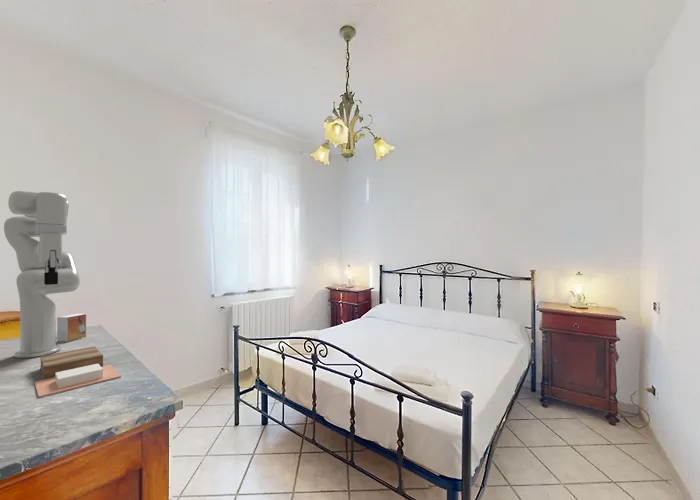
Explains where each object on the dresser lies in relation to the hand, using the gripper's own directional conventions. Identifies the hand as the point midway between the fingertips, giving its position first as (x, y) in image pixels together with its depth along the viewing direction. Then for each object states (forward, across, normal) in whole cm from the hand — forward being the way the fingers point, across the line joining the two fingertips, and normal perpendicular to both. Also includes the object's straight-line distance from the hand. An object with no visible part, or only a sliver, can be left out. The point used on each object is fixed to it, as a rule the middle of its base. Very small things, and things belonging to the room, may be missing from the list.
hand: (51, 284), depth 105 cm
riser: (+27, +9, +4) cm, 29 cm away
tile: (+25, +24, +4) cm, 35 cm away
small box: (+29, -35, +10) cm, 47 cm away
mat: (+27, +23, +4) cm, 35 cm away
